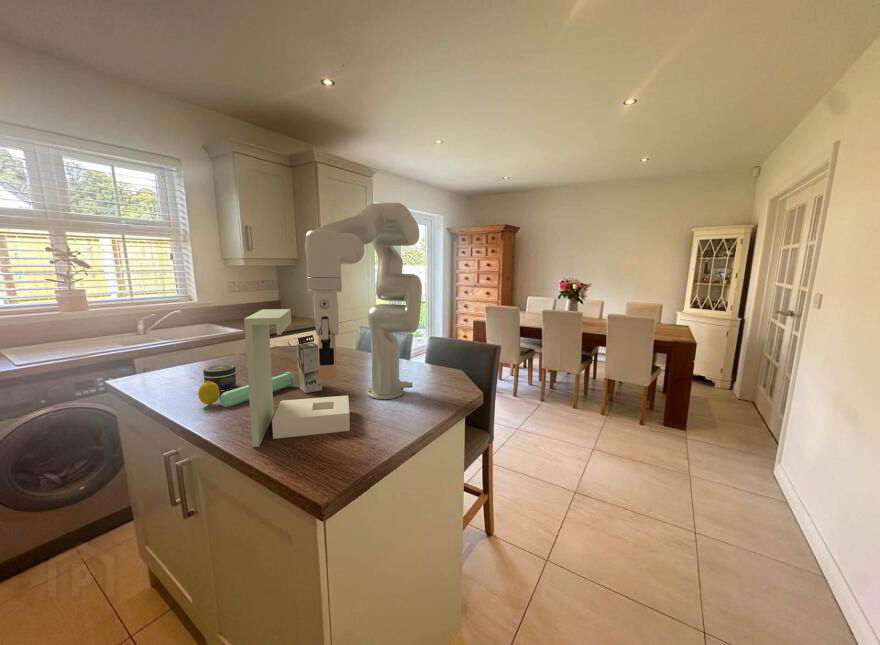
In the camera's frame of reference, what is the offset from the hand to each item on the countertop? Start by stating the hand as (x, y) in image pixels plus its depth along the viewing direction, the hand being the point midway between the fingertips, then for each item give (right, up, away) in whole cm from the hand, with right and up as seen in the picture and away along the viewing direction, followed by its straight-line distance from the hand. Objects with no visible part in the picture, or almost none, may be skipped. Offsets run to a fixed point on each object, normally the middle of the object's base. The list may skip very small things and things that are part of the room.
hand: (327, 361), depth 84 cm
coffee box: (-21, -15, +45) cm, 51 cm away
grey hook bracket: (-18, -19, +12) cm, 29 cm away
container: (-35, -16, +36) cm, 53 cm away
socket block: (-8, -19, +15) cm, 26 cm away
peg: (0, -4, +1) cm, 4 cm away
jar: (-53, -15, +44) cm, 70 cm away
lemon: (-46, -17, +27) cm, 56 cm away
